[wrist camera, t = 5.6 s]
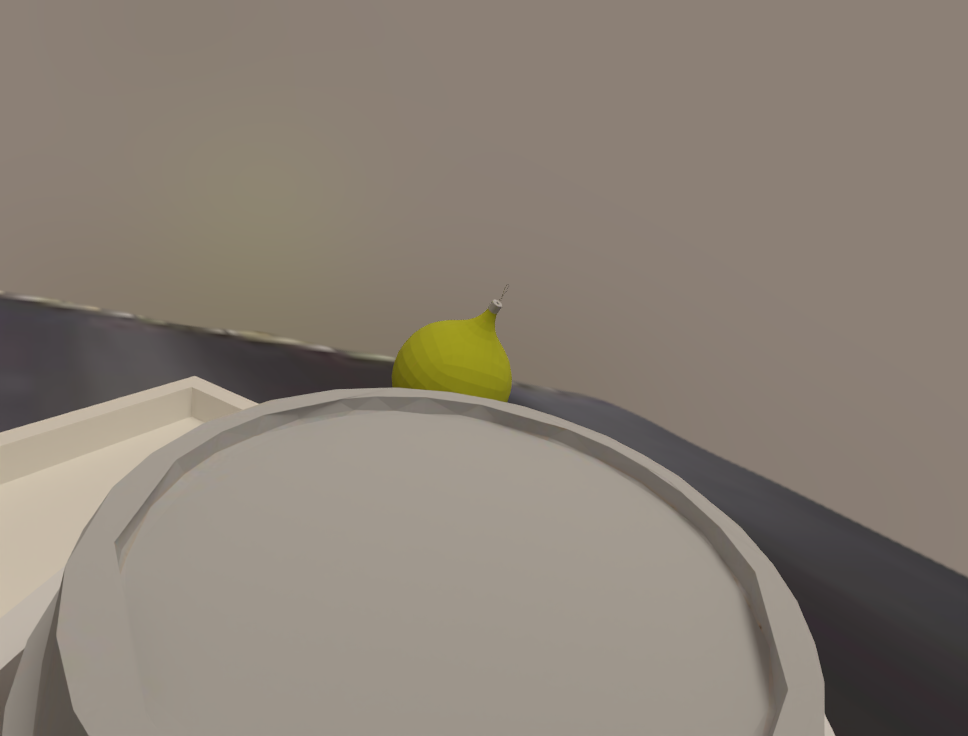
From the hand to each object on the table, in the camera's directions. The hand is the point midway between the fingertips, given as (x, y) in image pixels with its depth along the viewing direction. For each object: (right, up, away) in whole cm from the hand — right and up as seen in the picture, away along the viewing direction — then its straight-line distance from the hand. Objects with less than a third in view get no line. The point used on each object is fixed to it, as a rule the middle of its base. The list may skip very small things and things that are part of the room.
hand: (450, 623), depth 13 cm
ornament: (-2, +1, +24) cm, 24 cm away
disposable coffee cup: (-2, -8, -1) cm, 8 cm away
